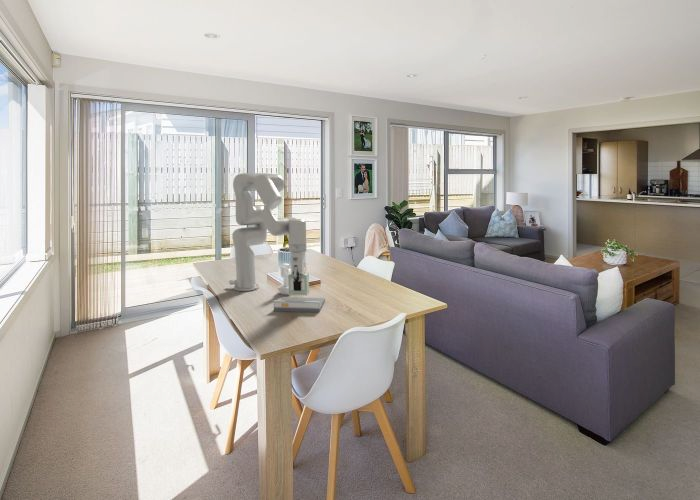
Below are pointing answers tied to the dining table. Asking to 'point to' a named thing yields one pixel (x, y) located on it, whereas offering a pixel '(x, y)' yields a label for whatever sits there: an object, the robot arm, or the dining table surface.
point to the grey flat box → (299, 304)
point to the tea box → (304, 284)
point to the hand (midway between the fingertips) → (298, 288)
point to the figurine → (284, 273)
